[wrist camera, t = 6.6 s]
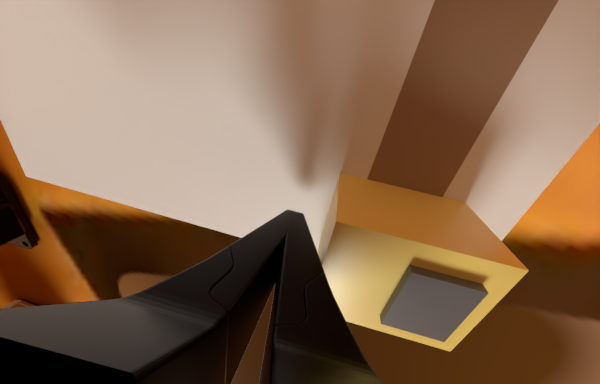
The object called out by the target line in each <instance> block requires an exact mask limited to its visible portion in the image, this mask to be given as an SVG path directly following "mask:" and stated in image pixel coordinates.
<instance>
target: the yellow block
mask: <svg viewBox="0 0 600 384" xmlns="http://www.w3.org/2000/svg"><path fill="white" fill-rule="evenodd" d="M318 255H319V258H320V261H321V264H322V267H323V269H324V273H325V275H326V278H327V280H328V283H329V286H330V288H331V291H332V293H333V296H334V298H335V300H336V302H337V304H338V306H339V308H340V310H341V312H342V314H343V316H344V318H345V320H346V321H347V322H350V323H354V324H357V325H361V326H365V327H368V328H371V329H375V330H378V331H382V332H385V333H388V334H392V335H395V336H398V337H402V338H405V339H409V340H412V341H416V342H419V343H423V344H426V345H430V346H433V347H436V348H440V349H443V350H447V351H451V350H453V348H454V347H455V346H456V345H457V344H458V343H459V342H460V341H461V340H462V339H463V338H464V337H465V336H466V335H467V334H468V333H469V332H470V331H471V330H472V329H473V328H474V327H475V326H476V325H477V324H478V323H479V322H480V320H482V318H484V317H485V315H486V314H487V313H488V312H489V311H490V310H491V309H492V308H493V307H494V306H495V305H496V304H497V303H498V302H499V301H500V300H501V299H502V298H503V297H504V296H505V295H506V294H507V293H508V292H509V291H510V290H511V289H512V288H513V287H514V286H515V285H516V283H517V282H518V281H519V280H520V279H521V278H522V277H523V276H524V275H525V274H526V273H527V272H528V271H529V270H528V269H527V268H526V267H525V266H524V265H523V264H522V263H521V262H520V261H519V260H518V258H517V257H516V256H515V255H514V254H513V253H512V252H511V251H510V250H509V249H508V248H507V247H506V246H505V245H504V243H503V242H502V241H501V240H500V239H499V238H498V237H497V236H496V235H495V234H494V233H493V232H492V231H491V230H490V229H489V227H488V226H487V225H486V224H485V223H484V222H483V221H482V220H481V219H480V218H479V217H478V216H477V215H476V214H475V212H474V211H473V210H472V209H471V208H470V207H469V206H468V205H467V204H466V203H465V202H460V201H456V200H452V199H448V198H444V197H439V196H435V195H431V194H427V193H423V192H418V191H414V190H410V189H406V188H402V187H397V186H393V185H389V184H385V183H381V182H376V181H372V180H368V179H364V178H360V177H356V176H351V175H347V174H343V173H340V174H339V177H338V181H337V184H336V188H335V191H334V195H333V198H332V202H331V205H330V208H329V212H328V215H327V219H326V222H325V226H324V229H323V233H322V236H321V240H320V243H319V247H318Z"/></svg>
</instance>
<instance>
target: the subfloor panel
mask: <svg viewBox="0 0 600 384" xmlns="http://www.w3.org/2000/svg"><path fill="white" fill-rule="evenodd" d="M0 120H1V123H2V125H3V127H4V129H5V131H6V134H7V136H8V138H9V140H10V142H11V145H12V147H13V149H14V151H15V153H16V156H17V158H18V160H19V162H20V164H21V167H22V169H23V171H24V173H25V175H26V177H29V178H33V179H36V180H40V181H44V182H47V183H51V184H54V185H58V186H61V187H65V188H68V189H72V190H75V191H79V192H82V193H86V194H89V195H93V196H96V197H100V198H103V199H107V200H110V201H114V202H117V203H121V204H124V205H128V206H132V207H135V208H139V209H142V210H146V211H149V212H153V213H156V214H160V215H163V216H167V217H170V218H174V219H177V220H181V221H184V222H188V223H191V224H195V225H198V226H202V227H205V228H209V229H213V230H216V231H220V232H223V233H227V234H230V235H234V236H237V237H241V238H242V237H244V236H246V235H247V234H249V233H250V232H252V231H254V230H255V229H257V228H258V227H260V226H262V225H263V224H265V223H266V222H268V221H270V220H271V219H273V218H274V217H276V216H278V215H279V214H281V213H282V212H284V211H286V210H292V211H296V212H300V213H303V214H304V216H305V219H306V222H307V225H308V227H309V230H310V233H311V236H312V239H313V241H314V244H315V247H316V250H317V253H318V247H319V243H320V240H321V236H322V233H323V229H324V226H325V222H326V219H327V215H328V212H329V208H330V205H331V202H332V198H333V195H334V191H335V188H336V184H337V181H338V177H339V174H340V173H343V174H347V175H351V176H356V177H360V178H364V179H368V180H372V181H376V182H381V183H385V184H389V185H393V186H397V187H402V188H406V189H410V190H414V191H418V192H423V193H427V194H431V195H435V196H439V197H444V198H448V199H452V200H456V201H460V202H465V203H466V204H467V205H468V206H469V207H470V208H471V209H472V210H473V211H474V212H475V214H476V215H477V216H478V217H479V218H480V219H481V220H482V221H483V222H484V223H485V224H486V225H487V226H488V227H489V229H490V230H491V231H492V232H493V233H494V234H495V235H496V236H497V237H498V238H499V239H500V240H501V241H502V240H503V239H504V237H505V236H506V235H507V234H508V233H509V231H510V230H511V229H512V228H513V227H514V225H515V224H516V223H517V222H518V221H519V219H520V218H521V217H522V216H523V215H524V213H525V212H526V211H527V210H528V209H529V207H530V206H531V205H532V204H533V203H534V201H535V200H536V199H537V198H538V197H539V195H540V194H541V193H542V192H543V191H544V189H545V188H546V187H547V186H548V185H549V183H550V182H551V181H552V180H553V179H554V177H555V176H556V175H557V174H558V173H559V171H560V170H561V169H562V168H563V167H564V165H565V164H566V163H567V162H568V161H569V159H570V158H571V157H572V156H573V155H574V153H575V152H576V151H577V150H578V149H579V147H580V146H581V145H582V144H583V143H584V141H585V140H586V139H587V138H588V137H589V136H590V134H591V133H592V132H593V131H594V130H595V128H596V127H597V126H598V125H599V124H600V0H0Z"/></svg>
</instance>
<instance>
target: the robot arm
mask: <svg viewBox="0 0 600 384" xmlns="http://www.w3.org/2000/svg"><path fill="white" fill-rule="evenodd" d="M6 243H11V244H14V245H17V246H20V247H24V248H27V249H32V248H33V247H35V246H37V245H38V243H37V241H36V239H35V237H34V235H33V233H32V231H31V229H30V227H29V225H28V223H27V221H26V219H25V217H24V215H23V213H22V211H21V209H20V207H19V205H18V203H17V201H16V199H15V197H14V195H13V193H12V191H11V189H10V187H9V185H8V183H7V181H6V180H5V178H4V177H3V176H2V175H1V174H0V246H2V245H4V244H6ZM275 283H276V285H275ZM274 285H275V291H274V297H273V303H272V309H271V315H270V320H269V327H268V333H267V338H266V344H265V350H264V356H263V362H262V369H261V374H260V380H259V384H385V383H384V382H383V381H382V380H380V378H379V377H378V376H377V375H376V374H375V372H374V371H373V369H372V368H371V367H370V365H369V364H368V362H367V361H366V359H365V357H364V355H363V353H362V352H361V350H360V348H359V346H358V344H357V342H356V340H355V338H354V336H353V334H352V332H351V330H350V328H349V326H348V324H347V322H346V320H345V318H344V316H343V314H342V312H341V310H340V308H339V306H338V304H337V302H336V300H335V298H334V296H333V293H332V291H331V288H330V286H329V283H328V280H327V278H326V275H325V273H324V269H323V267H322V264H321V261H320V258H319V255H318V253H317V250H316V247H315V244H314V241H313V239H312V236H311V233H310V230H309V227H308V225H307V222H306V219H305V216H304V214H303V213H300V212H296V211H292V210H286V211H284V212H282V213H281V214H279V215H278V216H276V217H274V218H273V219H271V220H270V221H268V222H266V223H265V224H263V225H262V226H260V227H258V228H257V229H255V230H254V231H252V232H250V233H249V234H247V235H246V236H244V237H242V238H241V239H239V240H238V241H236V242H234V243H233V244H231V245H230V246H229V247H226V248H225V249H223V250H221V251H220V252H218V253H216V254H215V255H213V256H211V257H210V258H208V259H206V260H204V261H202V262H200V263H198V264H196V265H195V266H193V267H191V268H189V269H187V270H185V271H183V272H181V273H178V274H176V275H174V276H172V277H170V278H168V279H166V280H164V281H162V282H160V283H158V284H156V285H154V286H152V287H150V288H148V289H146V290H144V291H141V292H139V293H136V294H133V295H130V296H127V297H123V298H118V299H111V300H100V301H89V302H77V303H65V304H53V305H41V306H30V307H18V308H6V309H0V384H231V382H232V380H233V378H234V376H235V373H236V371H237V369H238V367H239V364H240V362H241V360H242V357H243V355H244V353H245V351H246V348H247V346H248V344H249V342H250V339H251V337H252V335H253V333H254V330H255V328H256V326H257V323H258V321H259V319H260V317H261V314H262V312H263V310H264V308H265V305H266V303H267V301H268V299H269V296H270V294H271V292H272V290H273V287H274Z"/></svg>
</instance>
